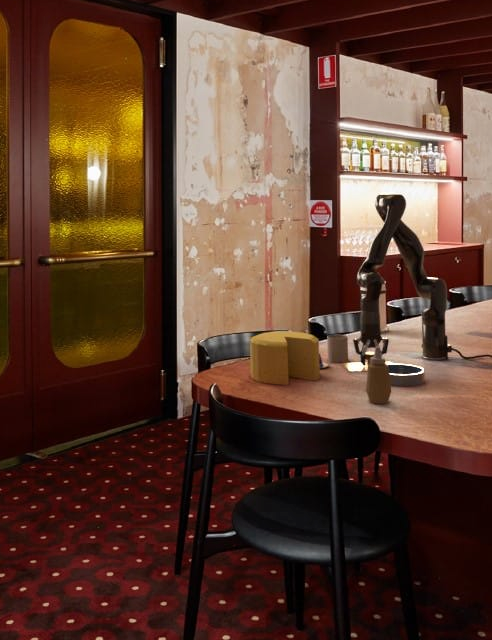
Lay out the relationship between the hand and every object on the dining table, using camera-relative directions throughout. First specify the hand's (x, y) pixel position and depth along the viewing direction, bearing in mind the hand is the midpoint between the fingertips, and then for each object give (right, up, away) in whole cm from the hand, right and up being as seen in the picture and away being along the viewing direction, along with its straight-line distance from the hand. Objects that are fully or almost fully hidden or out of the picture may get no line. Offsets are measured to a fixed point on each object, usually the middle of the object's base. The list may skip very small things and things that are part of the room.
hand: (371, 364), depth 283 cm
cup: (-10, -2, +16) cm, 19 cm away
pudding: (-22, -2, +6) cm, 23 cm away
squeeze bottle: (-9, -2, -46) cm, 47 cm away
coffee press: (+22, -2, +81) cm, 84 cm away
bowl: (+5, -1, -21) cm, 22 cm away
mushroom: (0, -1, 0) cm, 1 cm away
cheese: (-35, -3, -8) cm, 36 cm away
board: (0, -2, 0) cm, 2 cm away
